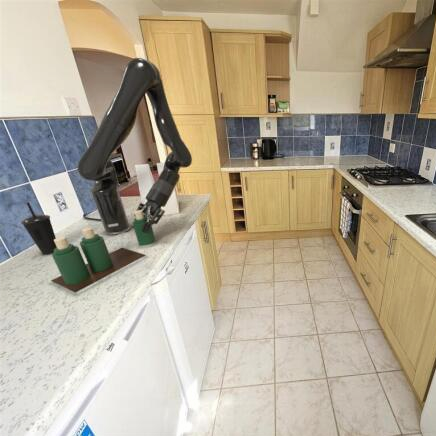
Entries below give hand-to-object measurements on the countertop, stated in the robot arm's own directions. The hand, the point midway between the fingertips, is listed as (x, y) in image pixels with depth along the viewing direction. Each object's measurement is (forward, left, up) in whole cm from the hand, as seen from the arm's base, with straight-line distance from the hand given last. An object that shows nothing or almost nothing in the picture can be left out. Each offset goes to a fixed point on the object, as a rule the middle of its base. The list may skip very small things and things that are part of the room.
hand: (139, 230), depth 93 cm
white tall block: (-28, +32, -7) cm, 43 cm away
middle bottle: (+2, -16, -6) cm, 17 cm away
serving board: (+2, -16, -7) cm, 18 cm away
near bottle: (+2, -23, -6) cm, 24 cm away
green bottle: (0, +2, -7) cm, 7 cm away
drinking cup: (-30, -17, -7) cm, 35 cm away
